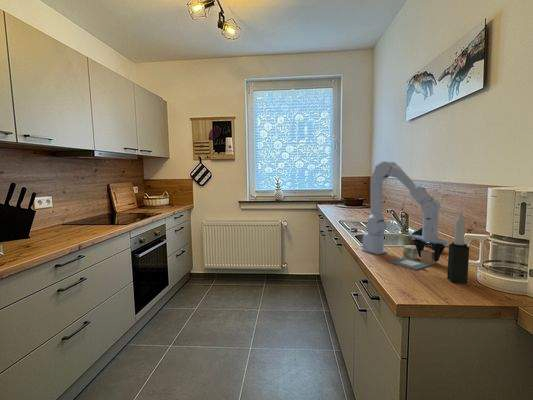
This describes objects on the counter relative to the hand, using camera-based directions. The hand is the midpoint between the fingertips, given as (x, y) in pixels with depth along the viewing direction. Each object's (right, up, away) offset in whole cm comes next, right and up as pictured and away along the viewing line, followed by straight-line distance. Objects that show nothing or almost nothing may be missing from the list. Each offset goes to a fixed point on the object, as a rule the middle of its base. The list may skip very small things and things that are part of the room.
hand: (428, 259), depth 122 cm
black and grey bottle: (-2, -4, -21) cm, 21 cm away
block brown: (0, -2, 0) cm, 2 cm away
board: (-9, -2, -2) cm, 10 cm away
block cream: (-4, -1, +7) cm, 8 cm away
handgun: (+13, +1, +26) cm, 29 cm away
